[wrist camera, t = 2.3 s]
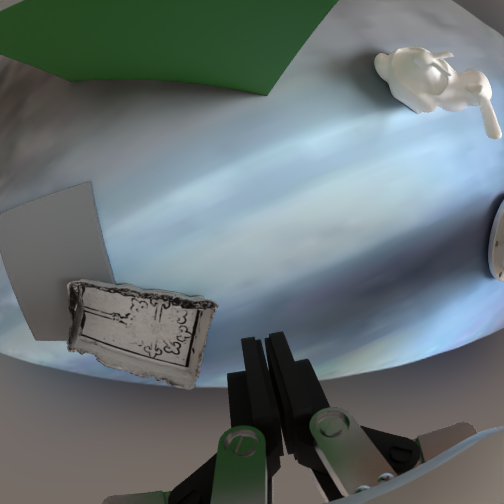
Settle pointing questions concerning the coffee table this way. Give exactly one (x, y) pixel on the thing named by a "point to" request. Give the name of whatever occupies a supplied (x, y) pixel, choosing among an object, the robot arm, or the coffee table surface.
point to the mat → (53, 255)
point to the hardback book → (161, 38)
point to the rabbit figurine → (436, 84)
